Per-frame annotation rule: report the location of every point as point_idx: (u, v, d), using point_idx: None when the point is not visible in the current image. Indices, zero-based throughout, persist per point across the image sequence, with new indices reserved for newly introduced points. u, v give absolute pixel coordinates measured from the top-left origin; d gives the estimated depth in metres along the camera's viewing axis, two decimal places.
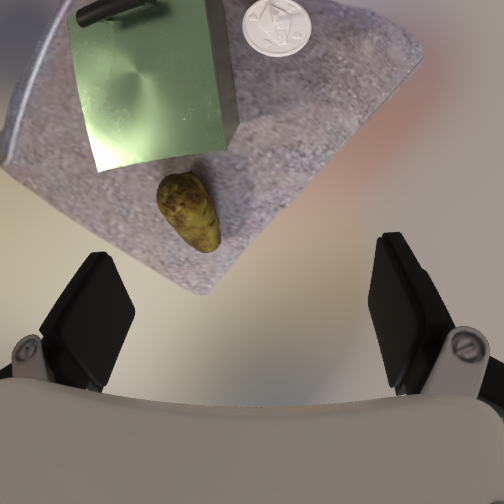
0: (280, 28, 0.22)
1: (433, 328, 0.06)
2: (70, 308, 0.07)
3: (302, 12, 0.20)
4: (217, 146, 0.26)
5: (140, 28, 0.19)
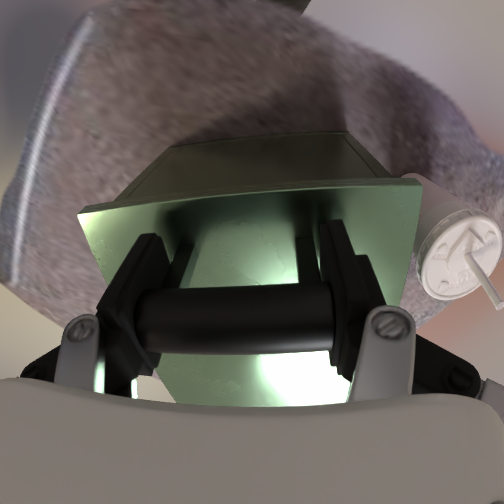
0: (468, 268, 0.15)
1: (354, 305, 0.07)
2: (129, 285, 0.08)
3: (498, 242, 0.14)
4: None
5: None
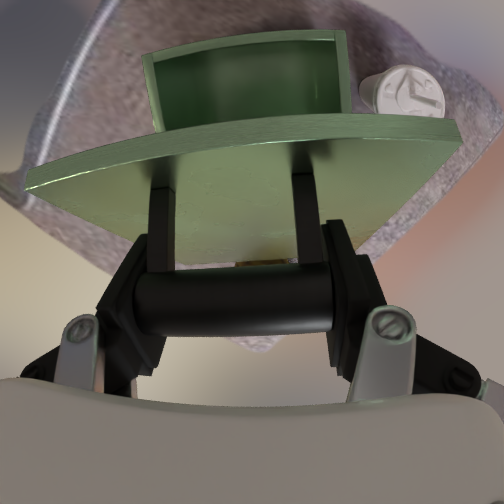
0: (417, 108, 0.19)
1: (354, 305, 0.07)
2: (129, 285, 0.08)
3: (438, 91, 0.18)
4: None
5: (264, 205, 0.11)
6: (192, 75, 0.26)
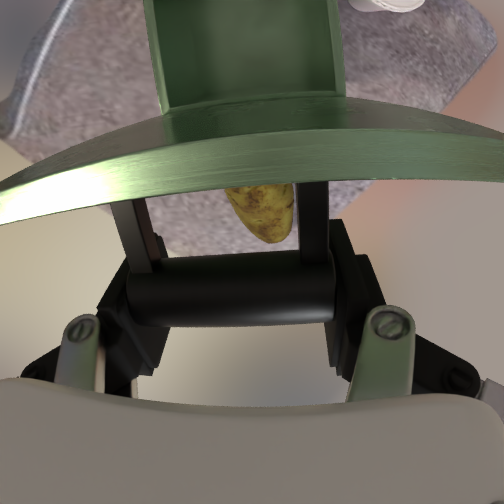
0: None
1: (353, 305, 0.07)
2: None
3: None
4: None
5: None
6: None
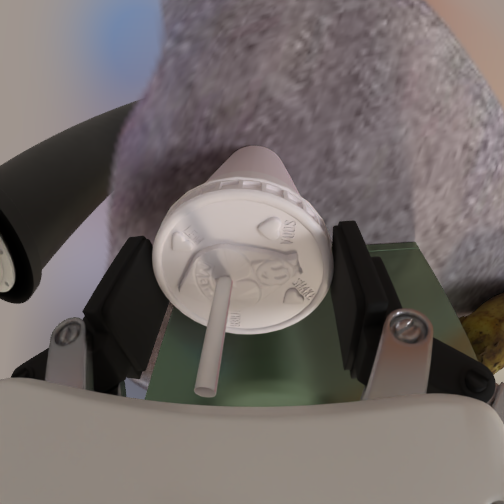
0: (249, 272, 0.10)
1: (372, 308, 0.06)
2: (115, 289, 0.08)
3: (188, 214, 0.09)
4: None
5: None
6: None
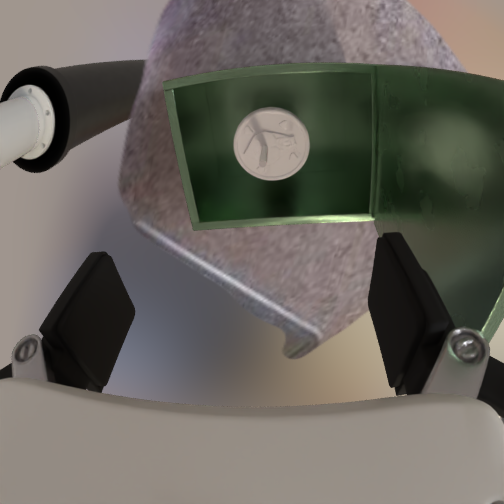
0: (275, 142, 0.23)
1: (433, 328, 0.06)
2: (70, 308, 0.07)
3: (252, 118, 0.23)
4: None
5: None
6: (229, 178, 0.35)
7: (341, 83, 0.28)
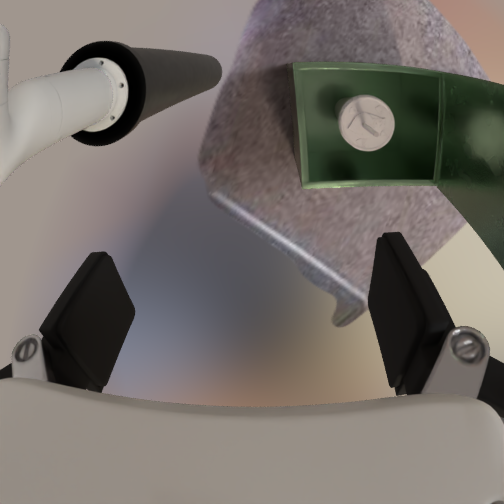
0: (372, 121, 0.28)
1: (433, 328, 0.06)
2: (70, 308, 0.07)
3: (356, 101, 0.27)
4: None
5: None
6: (310, 153, 0.40)
7: (400, 81, 0.33)
